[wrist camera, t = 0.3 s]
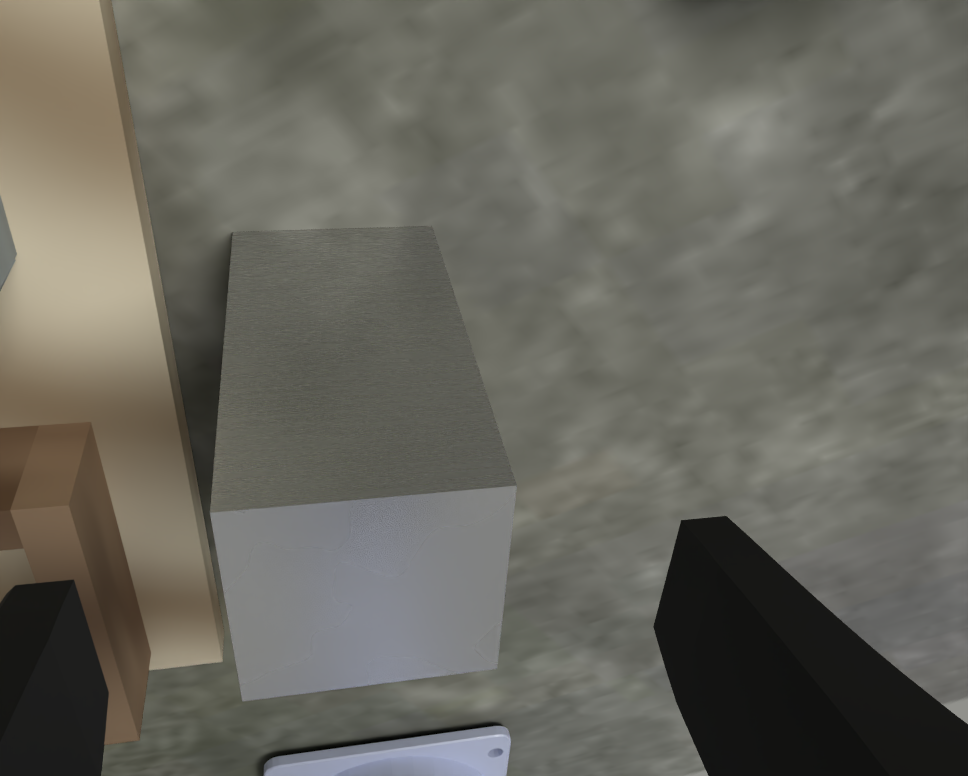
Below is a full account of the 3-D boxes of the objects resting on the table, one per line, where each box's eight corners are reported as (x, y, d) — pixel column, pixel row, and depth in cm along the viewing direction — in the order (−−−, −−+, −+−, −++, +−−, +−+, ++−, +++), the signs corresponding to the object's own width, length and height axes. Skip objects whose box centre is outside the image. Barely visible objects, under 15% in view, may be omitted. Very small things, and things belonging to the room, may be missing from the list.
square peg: (428, 382, 21) (496, 669, 14) (252, 393, 20) (242, 701, 13) (431, 225, 18) (516, 485, 12) (232, 232, 17) (209, 512, 11)
